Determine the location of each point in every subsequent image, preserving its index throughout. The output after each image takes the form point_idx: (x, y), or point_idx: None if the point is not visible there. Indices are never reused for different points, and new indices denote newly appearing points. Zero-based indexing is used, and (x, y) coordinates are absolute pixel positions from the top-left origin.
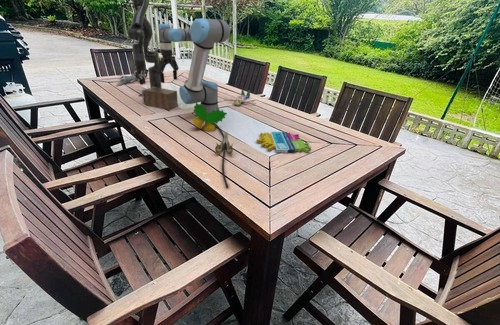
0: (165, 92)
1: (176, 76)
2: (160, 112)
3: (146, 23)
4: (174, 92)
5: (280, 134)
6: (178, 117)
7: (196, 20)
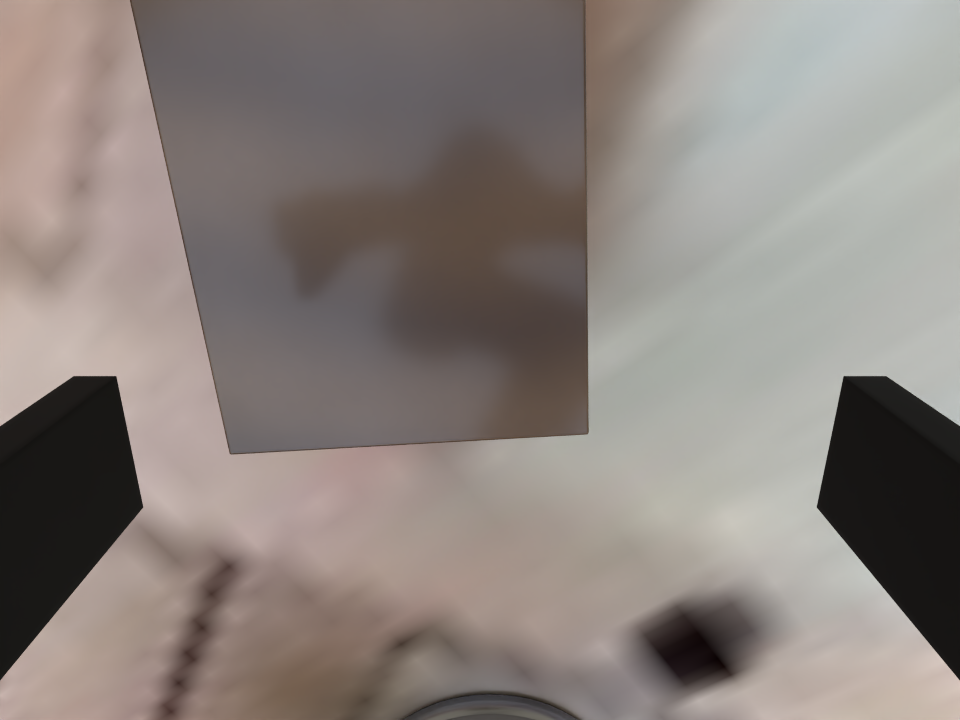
0: (302, 323)
1: (905, 591)
2: (144, 309)
3: None
4: (488, 434)
5: None
6: (179, 600)
7: None
